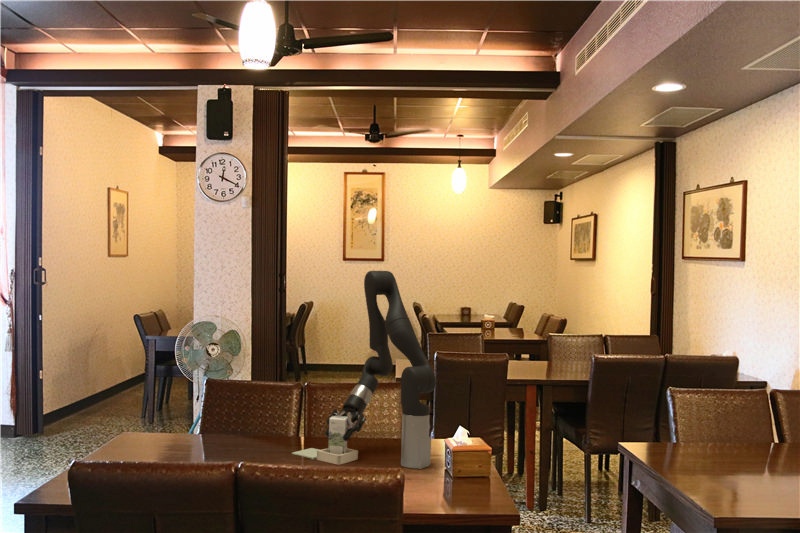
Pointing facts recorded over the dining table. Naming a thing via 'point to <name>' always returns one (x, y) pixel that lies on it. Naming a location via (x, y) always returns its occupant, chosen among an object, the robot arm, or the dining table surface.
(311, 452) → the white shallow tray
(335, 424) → the syrup box
